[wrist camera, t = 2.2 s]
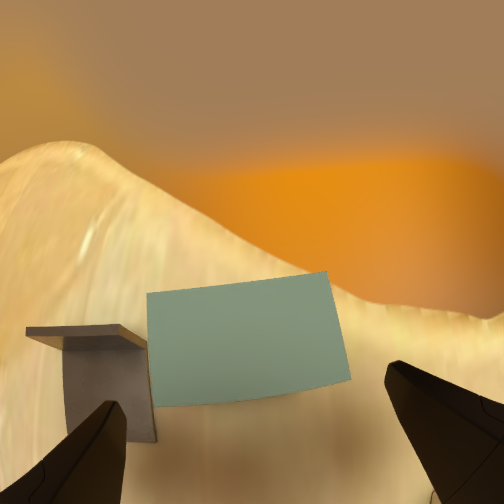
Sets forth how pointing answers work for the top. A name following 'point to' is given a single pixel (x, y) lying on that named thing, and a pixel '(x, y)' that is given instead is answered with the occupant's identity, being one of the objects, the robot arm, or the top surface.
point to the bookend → (103, 374)
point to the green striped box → (244, 341)
